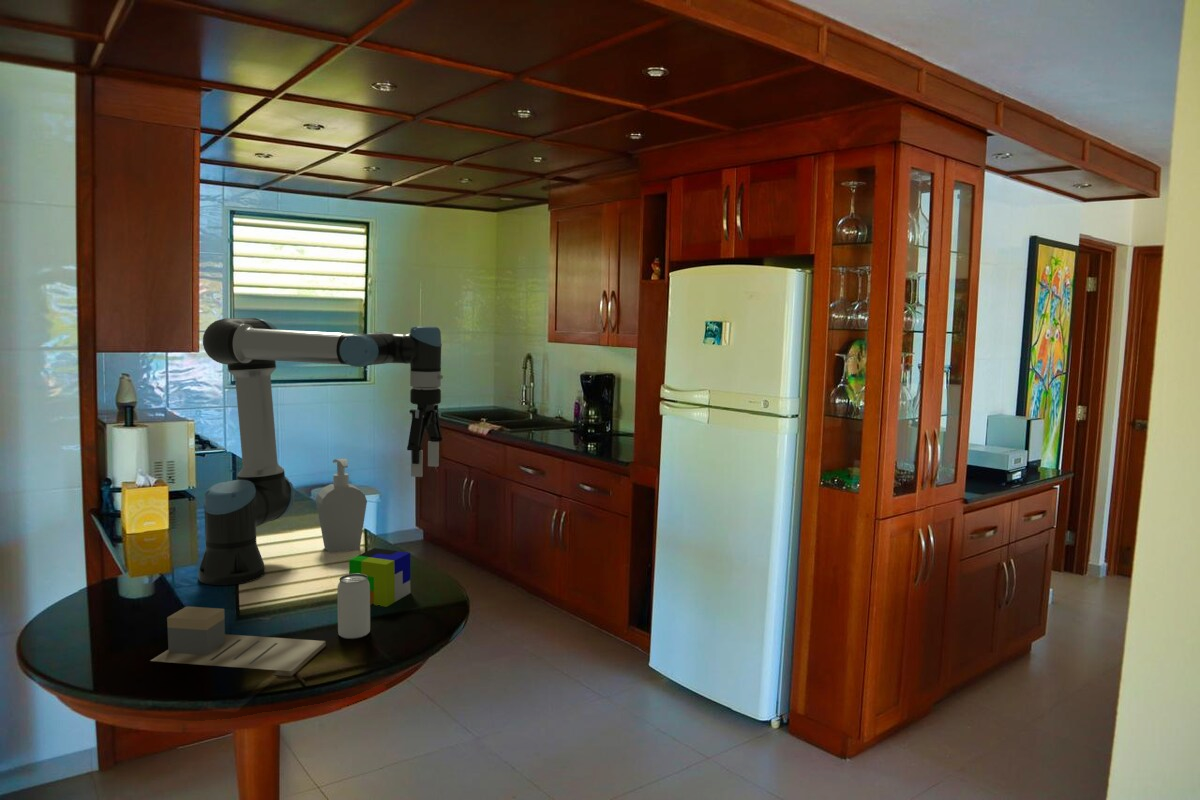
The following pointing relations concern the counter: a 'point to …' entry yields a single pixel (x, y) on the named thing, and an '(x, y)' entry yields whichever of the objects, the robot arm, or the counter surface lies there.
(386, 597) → the puzzle toy
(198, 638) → the block
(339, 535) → the soap bottle
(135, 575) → the counter surface
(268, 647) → the board
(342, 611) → the can
